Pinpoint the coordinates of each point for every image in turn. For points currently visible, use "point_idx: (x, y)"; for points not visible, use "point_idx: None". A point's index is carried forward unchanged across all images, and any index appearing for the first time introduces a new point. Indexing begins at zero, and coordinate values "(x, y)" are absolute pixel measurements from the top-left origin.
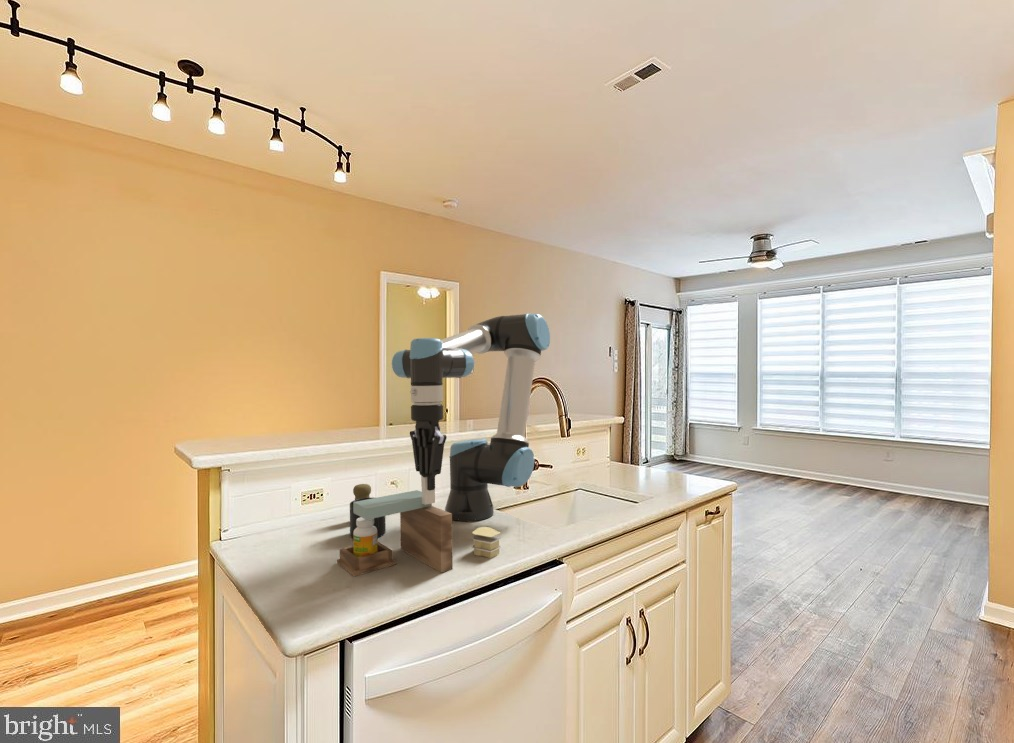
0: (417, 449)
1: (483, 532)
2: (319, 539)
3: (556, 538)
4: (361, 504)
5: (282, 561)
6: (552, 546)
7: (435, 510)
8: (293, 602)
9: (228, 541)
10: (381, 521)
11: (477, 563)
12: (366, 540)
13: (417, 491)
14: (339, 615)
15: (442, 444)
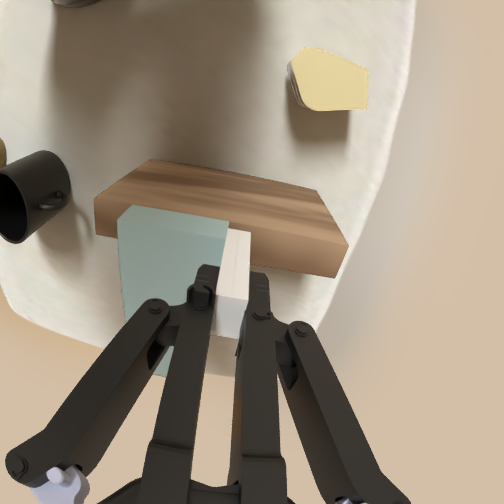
0: (118, 419)
1: (329, 87)
2: (34, 246)
3: None
4: (165, 374)
5: (89, 313)
6: (404, 2)
7: (281, 250)
8: (215, 359)
9: (12, 306)
10: (49, 180)
11: (340, 141)
12: None
13: (134, 230)
14: None
15: (374, 476)
